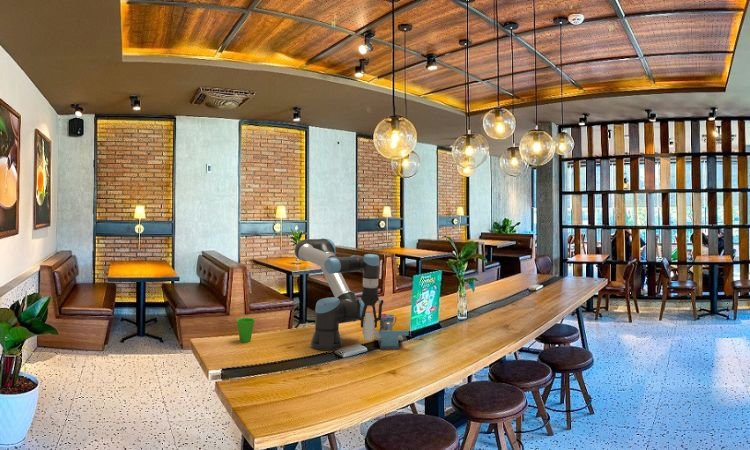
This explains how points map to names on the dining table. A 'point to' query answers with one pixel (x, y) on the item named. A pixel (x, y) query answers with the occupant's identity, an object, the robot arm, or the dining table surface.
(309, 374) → the dining table surface
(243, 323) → the cup
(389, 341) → the notched panel with ball
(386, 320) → the mug
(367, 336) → the grey rectangular block
